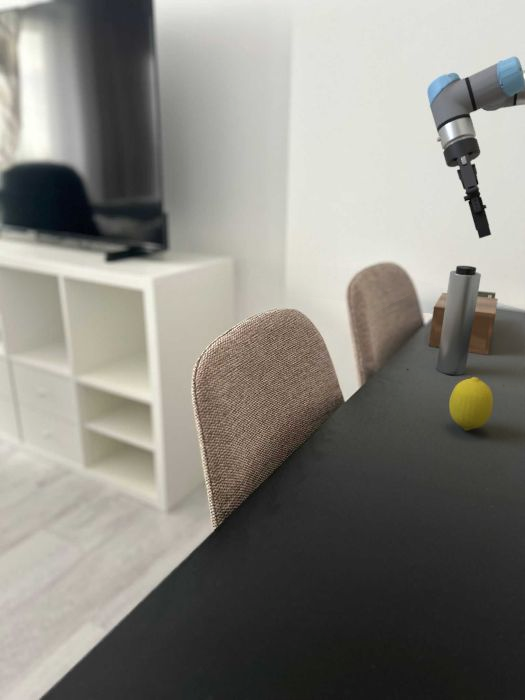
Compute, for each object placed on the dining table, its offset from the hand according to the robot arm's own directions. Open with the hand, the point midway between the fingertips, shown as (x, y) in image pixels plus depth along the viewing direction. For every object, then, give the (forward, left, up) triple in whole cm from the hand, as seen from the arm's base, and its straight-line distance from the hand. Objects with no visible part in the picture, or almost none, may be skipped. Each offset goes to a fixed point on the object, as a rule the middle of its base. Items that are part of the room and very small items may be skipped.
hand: (484, 232), depth 117 cm
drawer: (+2, +1, -21) cm, 21 cm away
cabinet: (+12, +9, -22) cm, 26 cm away
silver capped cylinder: (+27, +22, -22) cm, 41 cm away
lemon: (+42, +41, -22) cm, 63 cm away
